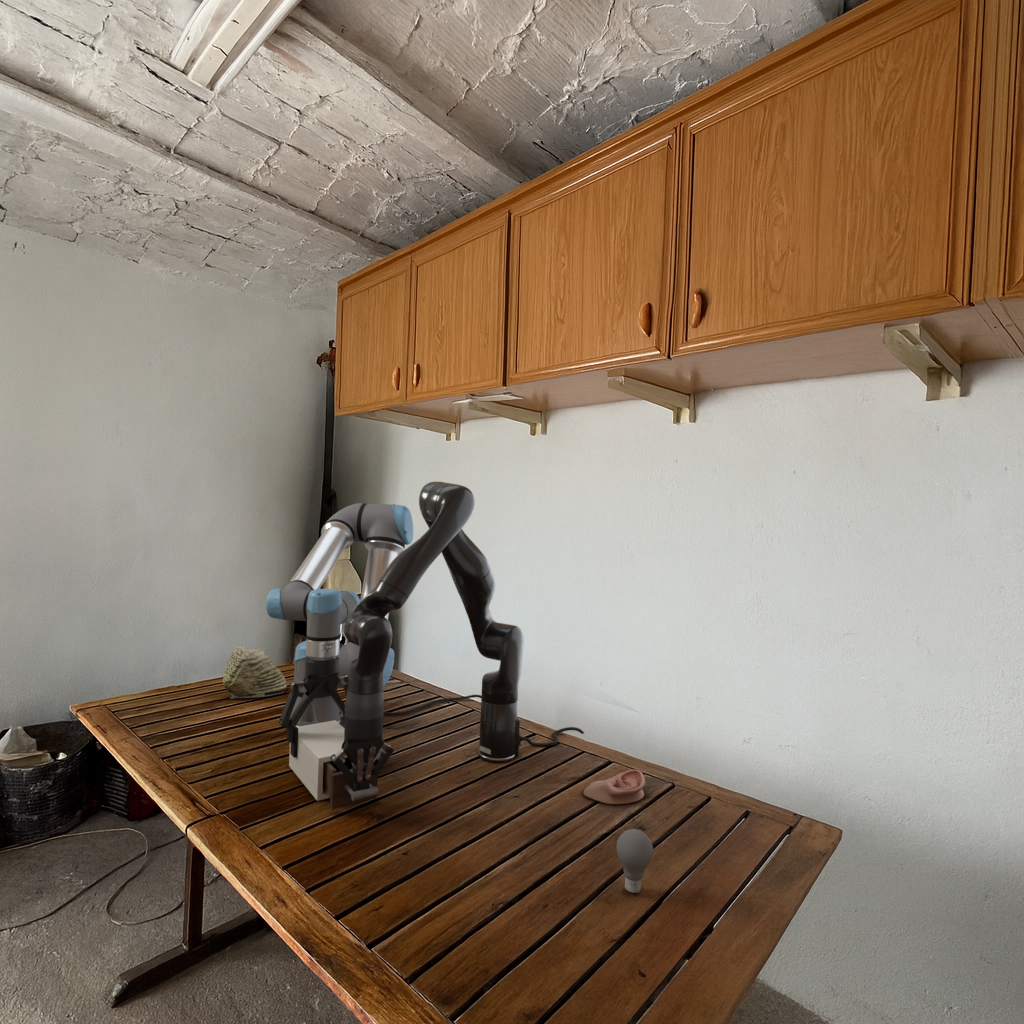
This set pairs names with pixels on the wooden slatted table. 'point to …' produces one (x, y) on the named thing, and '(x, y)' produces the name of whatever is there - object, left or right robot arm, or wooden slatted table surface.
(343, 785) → the drawer
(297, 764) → the cabinet
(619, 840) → the light bulb
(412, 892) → the wooden slatted table surface
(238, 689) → the fossil
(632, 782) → the anatomical model
